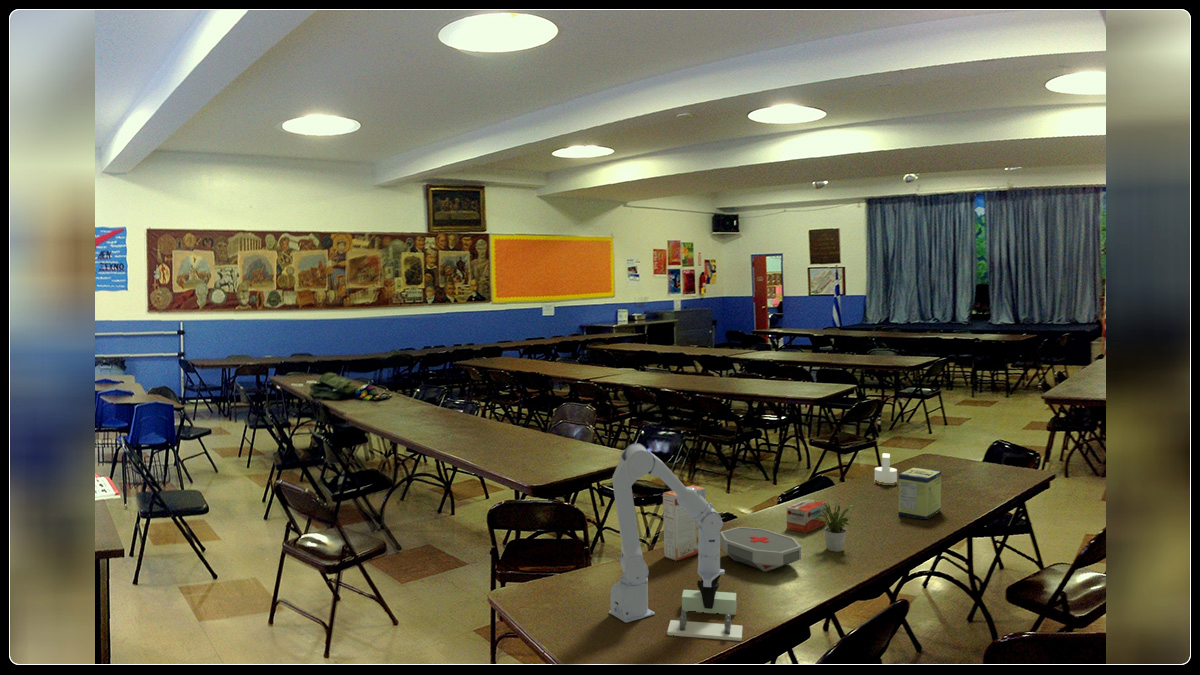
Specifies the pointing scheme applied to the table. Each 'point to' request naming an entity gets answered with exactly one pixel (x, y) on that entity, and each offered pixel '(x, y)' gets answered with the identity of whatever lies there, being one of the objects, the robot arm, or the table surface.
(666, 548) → the cracker box
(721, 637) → the peg stand
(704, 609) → the pale green block
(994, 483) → the table surface
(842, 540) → the house plant
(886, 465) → the cylinder with rectangular tab
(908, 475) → the protein box
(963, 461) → the table surface
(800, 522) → the medicine box
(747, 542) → the first aid kit
